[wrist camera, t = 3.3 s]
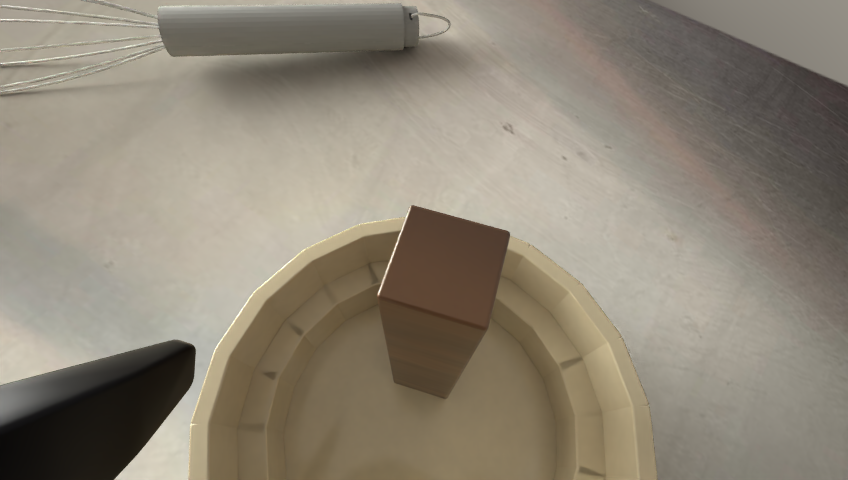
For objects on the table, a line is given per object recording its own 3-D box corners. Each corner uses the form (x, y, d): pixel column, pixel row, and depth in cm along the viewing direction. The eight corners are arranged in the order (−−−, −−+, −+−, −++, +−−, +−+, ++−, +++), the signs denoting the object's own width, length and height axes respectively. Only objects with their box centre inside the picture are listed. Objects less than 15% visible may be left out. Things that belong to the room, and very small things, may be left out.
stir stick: (447, 400, 19) (488, 331, 9) (393, 382, 19) (375, 297, 9) (461, 345, 20) (512, 230, 10) (409, 330, 20) (410, 202, 10)
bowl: (526, 737, 14) (585, 878, 10) (173, 525, 17) (77, 551, 12) (624, 345, 20) (692, 309, 16) (354, 229, 23) (338, 165, 18)
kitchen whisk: (457, 74, 28) (468, -24, 22) (-129, 130, 25) (-287, 34, 19) (440, 11, 31) (447, -91, 25) (-90, 55, 28) (-219, -49, 22)
